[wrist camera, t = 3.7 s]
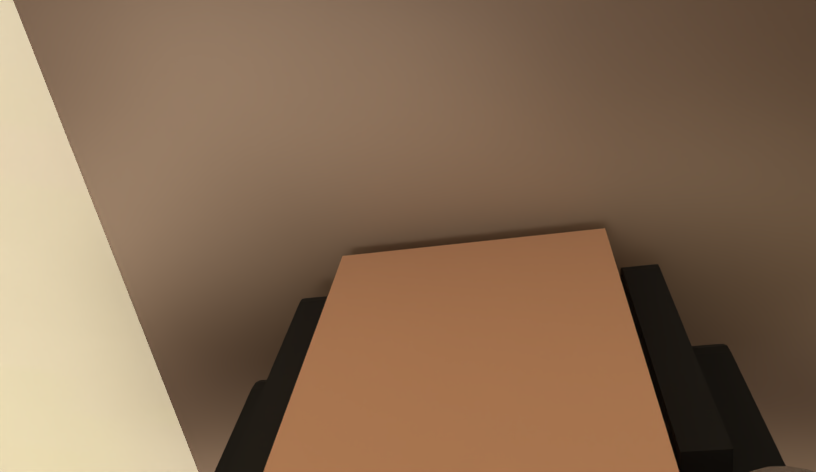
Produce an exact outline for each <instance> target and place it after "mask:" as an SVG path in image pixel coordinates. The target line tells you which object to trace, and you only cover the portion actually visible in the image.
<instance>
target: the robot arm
mask: <svg viewBox="0 0 816 472" xmlns="http://www.w3.org/2000/svg"><path fill="white" fill-rule="evenodd" d="M620 279H621V282H622V285H623V289H624V292H625V295H626V299H627V302H628V305H629V308H630V312H631V315H632V318H633V322H634V325H635V328H636V331H637V335H638V338H639V341H640V345H641V348H642V351H643V354H644V358H645V361H646V364H647V367H648V371H649V374H650V377H651V381H652V384H653V387H654V390H655V394H656V397H657V400H658V404H659V407H660V410H661V413H662V417H663V420H664V423H665V427H666V430H667V433H668V436H669V440H670V443H671V446H672V450H673V453H674V456H675V459H676V463H677V466H678V469H679V472H814V471H811V470H807V469H802V468H796V467H790V466H786V465H785V463H784V461H783V459H782V457H781V455H780V453H779V450H778V448H777V446H776V444H775V442H774V440H773V438H772V436H771V434H770V432H769V430H768V428H767V426H766V423H765V421H764V419H763V417H762V415H761V413H760V411H759V409H758V407H757V405H756V403H755V401H754V398H753V396H752V394H751V392H750V390H749V388H748V386H747V384H746V382H745V380H744V378H743V376H742V373H741V371H740V369H739V367H738V365H737V363H736V361H735V359H734V357H733V355H732V353H731V351H730V349H729V348H728V346H727V345H725V344H712V345H699V346H691V343H690V341H689V338H688V336H687V333H686V331H685V328H684V326H683V323H682V321H681V318H680V316H679V314H678V311H677V309H676V306H675V304H674V301H673V299H672V296H671V294H670V291H669V289H668V286H667V284H666V282H665V279H664V277H663V274H662V272H661V269H660V267H659V265H658V264H653V265H642V266H632V267H622V268H621V269H620ZM327 297H328V296H323V297H313V298H304V299H301V301H300V303H299V305H298V307H297V310H296V312H295V314H294V317H293V319H292V321H291V324H290V326H289V328H288V331H287V333H286V336H285V338H284V340H283V343H282V345H281V347H280V350H279V352H278V354H277V357H276V359H275V361H274V364H273V366H272V369H271V371H270V373H269V376H268V378H267V380H259V381H257V382H256V383H255V384H254V386H253V387H252V389H251V391H250V393H249V395H248V398H247V400H246V402H245V404H244V407H243V409H242V411H241V413H240V415H239V418H238V420H237V422H236V424H235V427H234V429H233V431H232V433H231V436H230V438H229V440H228V442H227V445H226V447H225V449H224V451H223V454H222V456H221V458H220V460H219V463H218V465H217V467H216V469H215V472H263V471H264V469H265V466H266V463H267V460H268V458H269V455H270V452H271V450H272V447H273V444H274V441H275V439H276V436H277V433H278V431H279V428H280V425H281V422H282V420H283V417H284V414H285V411H286V409H287V406H288V403H289V401H290V398H291V395H292V392H293V390H294V387H295V384H296V381H297V379H298V376H299V373H300V371H301V368H302V365H303V362H304V360H305V357H306V354H307V351H308V349H309V346H310V343H311V341H312V338H313V335H314V332H315V330H316V327H317V324H318V321H319V319H320V316H321V313H322V311H323V308H324V305H325V302H326V300H327Z"/></svg>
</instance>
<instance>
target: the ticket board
mask: <svg viewBox="0 0 816 472" xmlns="http://www.w3.org/2000/svg"><path fill="white" fill-rule="evenodd" d="M13 1H14V3H15V6H16V8H17V11H18V13H19V16H20V18H21V21H22V23H23V26H24V29H25V31H26V34H27V36H28V39H29V41H30V44H31V46H32V49H33V51H34V54H35V57H36V59H37V62H38V64H39V67H40V69H41V72H42V74H43V77H44V79H45V82H46V85H47V87H48V90H49V92H50V95H51V97H52V100H53V102H54V105H55V107H56V110H57V113H58V115H59V118H60V120H61V123H62V125H63V128H64V130H65V133H66V135H67V138H68V141H69V143H70V146H71V148H72V151H73V153H74V156H75V158H76V161H77V163H78V166H79V168H80V171H81V174H82V176H83V179H84V181H85V184H86V186H87V189H88V191H89V194H90V196H91V199H92V202H93V204H94V207H95V209H96V212H97V214H98V217H99V219H100V222H101V224H102V227H103V230H104V232H105V235H106V237H107V240H108V242H109V245H110V247H111V250H112V252H113V255H114V258H115V260H116V263H117V265H118V268H119V270H120V273H121V275H122V278H123V280H124V283H125V286H126V288H127V291H128V293H129V296H130V298H131V301H132V303H133V306H134V308H135V311H136V314H137V316H138V319H139V321H140V324H141V326H142V329H143V331H144V334H145V336H146V339H147V342H148V344H149V347H150V349H151V352H152V354H153V357H154V359H155V362H156V364H157V367H158V370H159V372H160V375H161V377H162V380H163V382H164V385H165V387H166V390H167V392H168V395H169V398H170V400H171V403H172V405H173V408H174V410H175V413H176V415H177V418H178V420H179V423H180V426H181V428H182V431H183V433H184V436H185V438H186V441H187V443H188V446H189V448H190V451H191V454H192V456H193V459H194V461H195V464H196V466H197V469H198V471H199V472H215V469H216V467H217V465H218V463H219V460H220V458H221V456H222V454H223V451H224V449H225V447H226V445H227V442H228V440H229V438H230V436H231V433H232V431H233V429H234V427H235V424H236V422H237V420H238V418H239V415H240V413H241V411H242V409H243V407H244V404H245V402H246V400H247V398H248V395H249V393H250V391H251V389H252V387H253V386H254V384H255V383H256V382H257V381H259V380H267V378H268V376H269V373H270V371H271V369H272V366H273V364H274V361H275V359H276V357H277V354H278V352H279V350H280V347H281V345H282V343H283V340H284V338H285V336H286V333H287V331H288V328H289V326H290V324H291V321H292V319H293V317H294V314H295V312H296V310H297V307H298V305H299V303H300V301H301V299H304V298H313V297H323V296H328V294H329V292H330V289H331V286H332V283H333V281H334V278H335V275H336V272H337V270H338V267H339V264H340V262H341V259H342V256H347V255H356V254H366V253H375V252H385V251H394V250H404V249H413V248H423V247H432V246H441V245H451V244H460V243H470V242H479V241H489V240H498V239H508V238H517V237H527V236H536V235H545V234H555V233H564V232H574V231H583V230H593V229H602V228H605V230H606V233H607V236H608V239H609V243H610V246H611V249H612V253H613V256H614V259H615V262H616V266H617V269H618V272H619V276H620V269H621V268H622V267H632V266H642V265H653V264H658V265H659V267H660V269H661V272H662V274H663V277H664V279H665V282H666V284H667V286H668V289H669V291H670V294H671V296H672V299H673V301H674V304H675V306H676V309H677V311H678V314H679V316H680V318H681V321H682V323H683V326H684V328H685V331H686V333H687V336H688V338H689V341H690V343H691V346H699V345H712V344H725V345H727V346H728V348H729V349H730V351H731V353H732V355H733V357H734V359H735V361H736V363H737V365H738V367H739V369H740V371H741V373H742V376H743V378H744V380H745V382H746V384H747V386H748V388H749V390H750V392H751V394H752V396H753V398H754V401H755V403H756V405H757V407H758V409H759V411H760V413H761V415H762V417H763V419H764V421H765V423H766V426H767V428H768V430H769V432H770V434H771V436H772V438H773V440H774V442H775V444H776V446H777V448H778V450H779V453H780V455H781V457H782V459H783V461H784V463H785V465H786V466H790V467H796V468H802V469H807V470H811V471H814V472H816V0H13Z"/></svg>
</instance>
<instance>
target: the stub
mask: <svg viewBox="0 0 816 472" xmlns="http://www.w3.org/2000/svg"><path fill="white" fill-rule="evenodd" d="M263 472H679V469H678V466H677V463H676V459H675V456H674V453H673V450H672V446H671V443H670V440H669V436H668V433H667V430H666V427H665V423H664V420H663V417H662V413H661V410H660V407H659V404H658V400H657V397H656V394H655V390H654V387H653V384H652V381H651V377H650V374H649V371H648V367H647V364H646V361H645V358H644V354H643V351H642V348H641V345H640V341H639V338H638V335H637V331H636V328H635V325H634V322H633V318H632V315H631V312H630V308H629V305H628V302H627V299H626V295H625V292H624V289H623V285H622V282H621V279H620V276H619V272H618V269H617V266H616V262H615V259H614V256H613V253H612V249H611V246H610V243H609V239H608V236H607V233H606V230H605V228H602V229H593V230H583V231H574V232H564V233H555V234H545V235H536V236H527V237H517V238H508V239H498V240H489V241H479V242H470V243H460V244H451V245H441V246H432V247H423V248H413V249H404V250H394V251H385V252H375V253H366V254H356V255H347V256H342V259H341V262H340V264H339V267H338V270H337V272H336V275H335V278H334V281H333V283H332V286H331V289H330V292H329V294H328V297H327V300H326V302H325V305H324V308H323V311H322V313H321V316H320V319H319V321H318V324H317V327H316V330H315V332H314V335H313V338H312V341H311V343H310V346H309V349H308V351H307V354H306V357H305V360H304V362H303V365H302V368H301V371H300V373H299V376H298V379H297V381H296V384H295V387H294V390H293V392H292V395H291V398H290V401H289V403H288V406H287V409H286V411H285V414H284V417H283V420H282V422H281V425H280V428H279V431H278V433H277V436H276V439H275V441H274V444H273V447H272V450H271V452H270V455H269V458H268V460H267V463H266V466H265V469H264V471H263Z"/></svg>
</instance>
